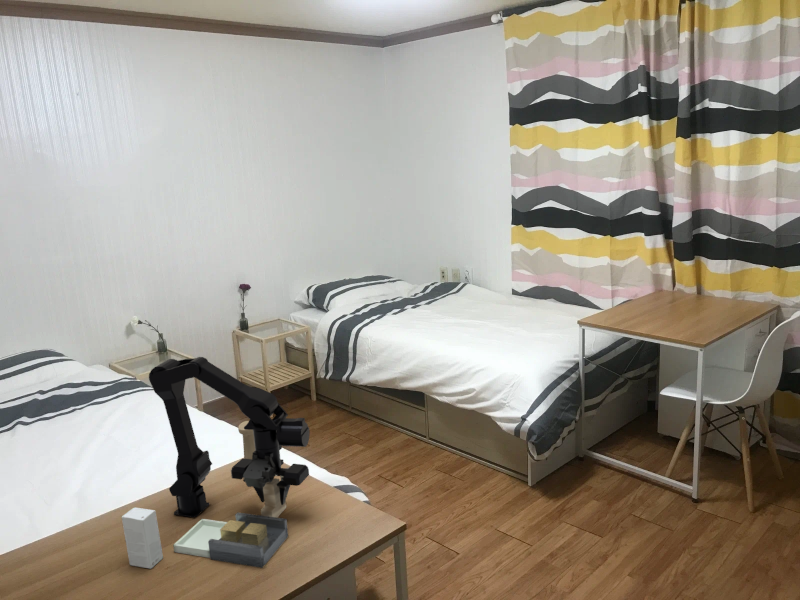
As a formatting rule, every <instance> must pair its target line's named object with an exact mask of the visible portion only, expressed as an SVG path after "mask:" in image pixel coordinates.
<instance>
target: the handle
mask: <svg viewBox="0 0 800 600" xmlns="http://www.w3.org/2000/svg"><path fill="white" fill-rule="evenodd" d="M248 422H249V420H244V421H243V422H241V423H239V424H238V432H239V434H241V435H242V442H243V446H242V447H243V458H244V459H252V455H253V452H254V451H255V444H254V435H253V430H245V429H244V427H245V426H246V425H247V424H248Z"/></svg>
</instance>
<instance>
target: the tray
mask: <svg viewBox="0 0 800 600" xmlns="http://www.w3.org/2000/svg"><path fill="white" fill-rule="evenodd" d="M227 522H228V521H222V520H214V519H207V518H201V519H200V520H199V521H197V522H196V524H194V526H192V527H190V529H189V530H187V532H186V533H184V535H182V536H181V537H180V538H179V539H178V540H177V541H176V542H174V543H173V551H174V553H178V554H184V555H189V556H190V555H191V556H196V557H197V556H198V557H202V558H209V559H211V558H210V551H209V544H208V541H209V540H210V539H215V540H219V539H220V538H221V532H220V529H221V528H222V527H223V526H224V525H225V524H226V523H227Z"/></svg>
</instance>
